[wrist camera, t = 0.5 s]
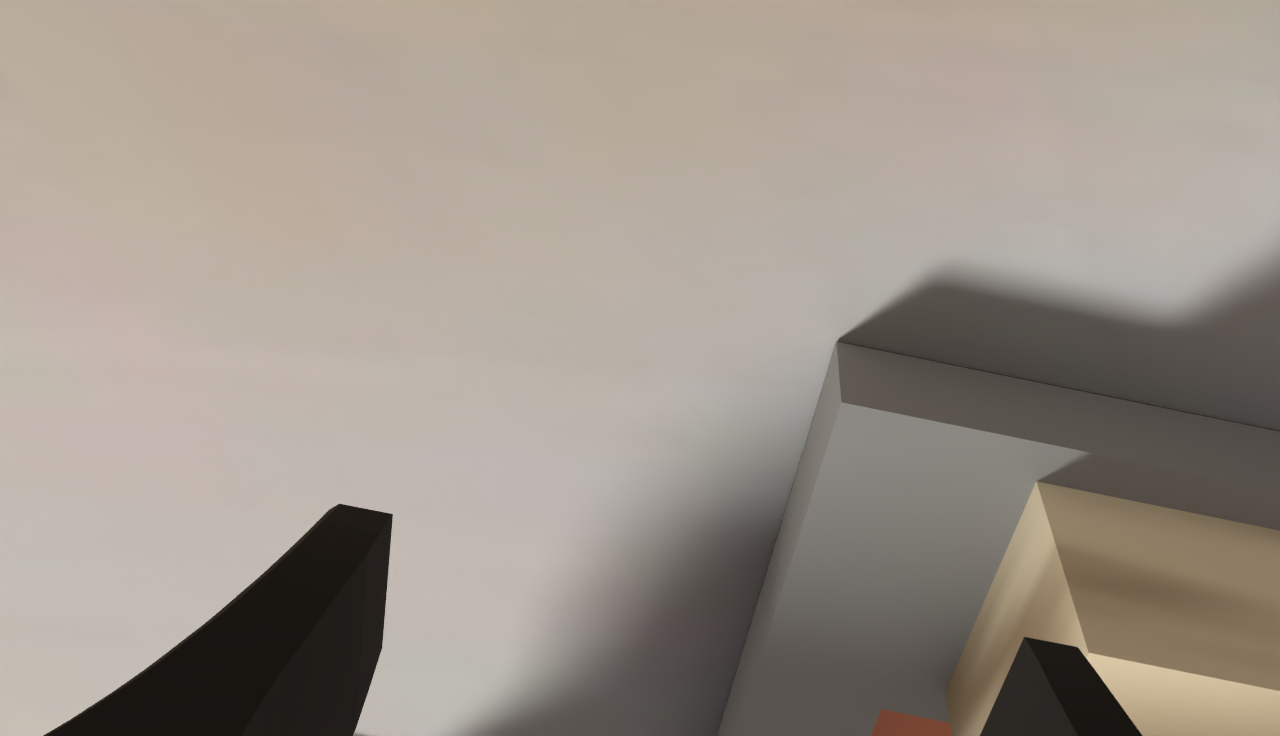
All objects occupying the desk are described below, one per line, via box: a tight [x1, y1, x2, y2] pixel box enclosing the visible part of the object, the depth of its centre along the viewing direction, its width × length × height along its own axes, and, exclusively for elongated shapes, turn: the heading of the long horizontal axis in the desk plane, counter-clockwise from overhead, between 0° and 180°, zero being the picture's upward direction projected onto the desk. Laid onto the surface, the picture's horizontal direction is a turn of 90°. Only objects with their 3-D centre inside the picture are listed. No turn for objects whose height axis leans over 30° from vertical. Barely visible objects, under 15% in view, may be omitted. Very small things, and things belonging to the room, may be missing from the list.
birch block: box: [945, 481, 1280, 736], centre depth 20 cm, size 5×5×4 cm
